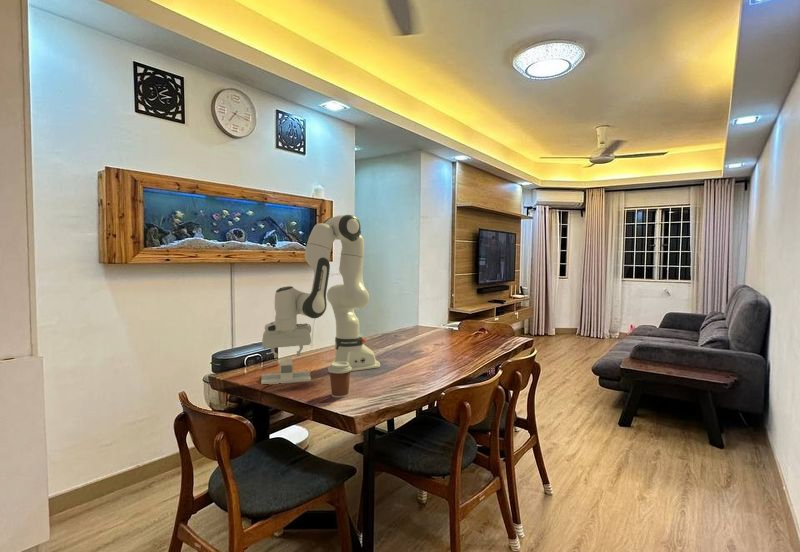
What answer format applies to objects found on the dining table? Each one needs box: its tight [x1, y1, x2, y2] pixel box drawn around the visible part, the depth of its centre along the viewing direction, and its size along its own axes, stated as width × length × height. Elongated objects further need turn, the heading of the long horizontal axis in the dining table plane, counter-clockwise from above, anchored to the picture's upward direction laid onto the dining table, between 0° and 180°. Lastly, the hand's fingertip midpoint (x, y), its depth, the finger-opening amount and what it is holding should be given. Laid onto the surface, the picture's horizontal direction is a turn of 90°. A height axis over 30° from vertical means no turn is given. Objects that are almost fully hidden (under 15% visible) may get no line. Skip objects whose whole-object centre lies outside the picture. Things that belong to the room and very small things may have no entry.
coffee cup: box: [327, 361, 353, 399], centre depth 159 cm, size 9×9×12 cm
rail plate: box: [260, 370, 312, 386], centre depth 180 cm, size 20×12×2 cm, turn 107°
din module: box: [279, 357, 294, 380], centre depth 179 cm, size 5×9×7 cm, turn 17°
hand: (287, 356), depth 180 cm, fingers open, 8 cm apart
